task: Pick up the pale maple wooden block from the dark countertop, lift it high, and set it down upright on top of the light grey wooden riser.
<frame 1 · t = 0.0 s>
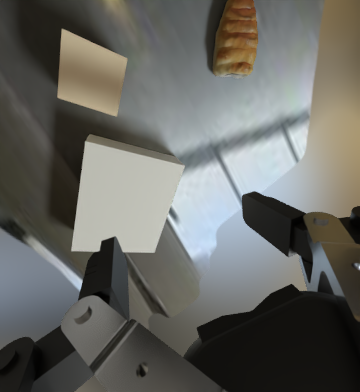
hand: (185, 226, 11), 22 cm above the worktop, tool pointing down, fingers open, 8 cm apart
maple block: (96, 81, 24), on the worktop
pastry: (229, 47, 27), on the worktop
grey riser: (125, 194, 33), on the worktop
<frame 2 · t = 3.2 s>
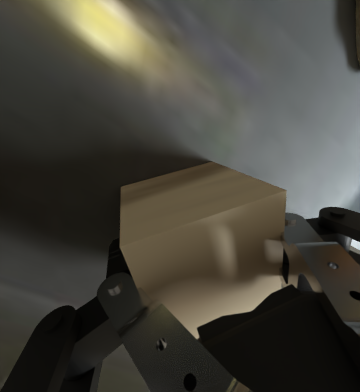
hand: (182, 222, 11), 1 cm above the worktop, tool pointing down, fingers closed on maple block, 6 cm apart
maple block: (178, 214, 13), on the worktop, touching gripper
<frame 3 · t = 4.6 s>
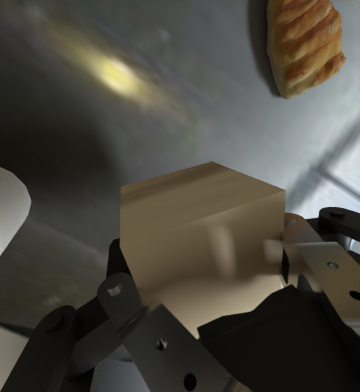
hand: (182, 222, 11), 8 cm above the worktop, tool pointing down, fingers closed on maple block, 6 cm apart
maple block: (178, 214, 13), point 7 cm above the worktop, touching gripper
pastry: (287, 51, 18), on the worktop
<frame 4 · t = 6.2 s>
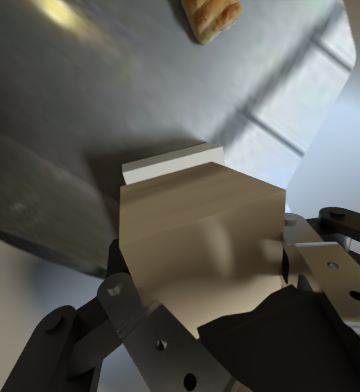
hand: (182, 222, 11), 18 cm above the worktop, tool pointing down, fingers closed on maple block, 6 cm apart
maple block: (177, 214, 13), point 17 cm above the worktop, touching gripper
pastry: (201, 5, 23), on the worktop
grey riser: (177, 203, 32), on the worktop
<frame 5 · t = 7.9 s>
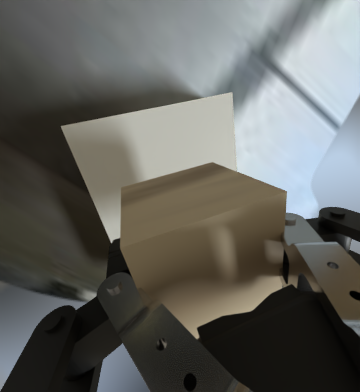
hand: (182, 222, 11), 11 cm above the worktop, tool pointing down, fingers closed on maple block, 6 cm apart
maple block: (178, 214, 13), point 10 cm above the worktop, touching gripper
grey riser: (165, 190, 23), on the worktop
when the fingers open (8 cm above the worktop, at t = 9.5 s): maple block drops 1 cm, resting on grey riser.
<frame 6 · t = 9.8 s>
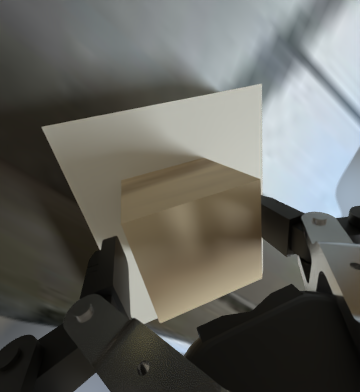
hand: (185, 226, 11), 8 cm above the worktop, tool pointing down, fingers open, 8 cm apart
maple block: (173, 206, 14), point 5 cm above the worktop, touching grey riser
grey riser: (173, 201, 19), on the worktop
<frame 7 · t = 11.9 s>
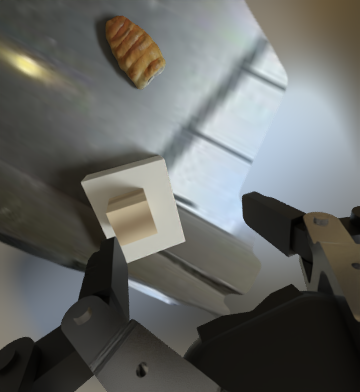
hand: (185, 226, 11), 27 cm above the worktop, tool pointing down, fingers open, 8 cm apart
maple block: (132, 208, 33), point 5 cm above the worktop, touching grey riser
pastry: (136, 60, 30), on the worktop
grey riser: (138, 205, 38), on the worktop
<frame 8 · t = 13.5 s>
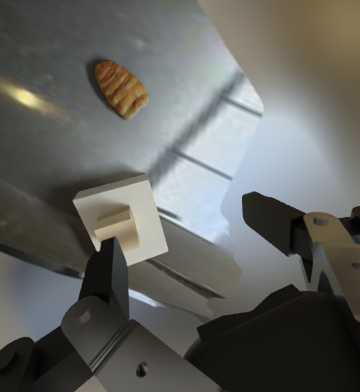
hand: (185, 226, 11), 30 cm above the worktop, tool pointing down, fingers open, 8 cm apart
maple block: (119, 222, 36), point 5 cm above the worktop, touching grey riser
pastry: (123, 94, 34), on the worktop
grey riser: (126, 218, 42), on the worktop
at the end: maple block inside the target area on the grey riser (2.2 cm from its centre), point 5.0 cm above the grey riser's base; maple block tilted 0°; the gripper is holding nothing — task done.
